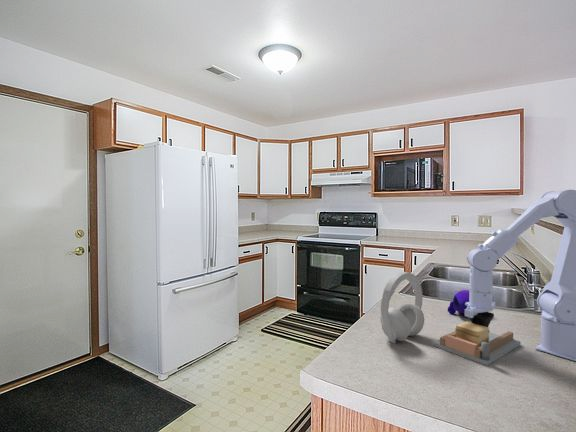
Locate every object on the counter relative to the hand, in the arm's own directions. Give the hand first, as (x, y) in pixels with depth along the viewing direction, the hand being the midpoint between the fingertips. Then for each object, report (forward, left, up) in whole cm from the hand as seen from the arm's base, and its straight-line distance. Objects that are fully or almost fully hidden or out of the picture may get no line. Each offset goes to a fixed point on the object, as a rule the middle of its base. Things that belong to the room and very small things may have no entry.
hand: (480, 337), depth 92 cm
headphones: (+16, +15, -2) cm, 22 cm away
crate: (0, +5, -1) cm, 5 cm away
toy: (+16, -22, -2) cm, 27 cm away
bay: (0, +2, -2) cm, 3 cm away
